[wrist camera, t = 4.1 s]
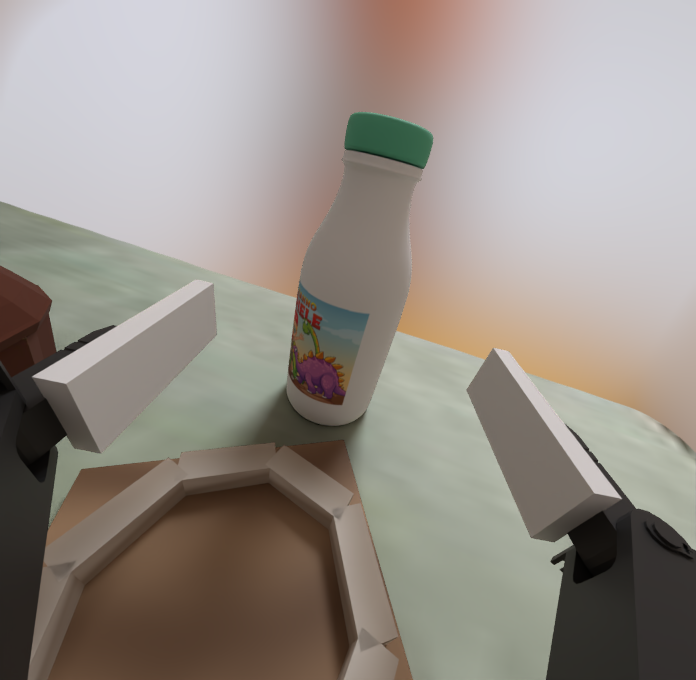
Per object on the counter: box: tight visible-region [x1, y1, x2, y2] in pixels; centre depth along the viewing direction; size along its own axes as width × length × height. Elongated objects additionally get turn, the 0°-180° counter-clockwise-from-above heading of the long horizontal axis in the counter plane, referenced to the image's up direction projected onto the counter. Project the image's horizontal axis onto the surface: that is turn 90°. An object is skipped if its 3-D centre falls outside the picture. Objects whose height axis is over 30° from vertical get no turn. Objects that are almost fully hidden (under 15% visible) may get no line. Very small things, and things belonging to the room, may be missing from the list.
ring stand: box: [28, 440, 413, 680], centre depth 11 cm, size 15×15×3 cm
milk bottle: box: [287, 112, 433, 426], centre depth 19 cm, size 8×8×20 cm
